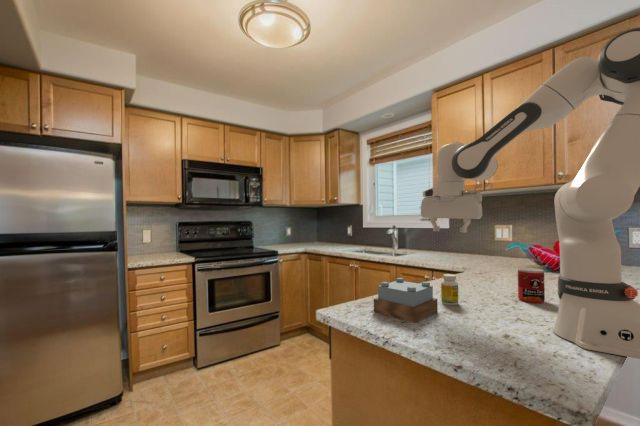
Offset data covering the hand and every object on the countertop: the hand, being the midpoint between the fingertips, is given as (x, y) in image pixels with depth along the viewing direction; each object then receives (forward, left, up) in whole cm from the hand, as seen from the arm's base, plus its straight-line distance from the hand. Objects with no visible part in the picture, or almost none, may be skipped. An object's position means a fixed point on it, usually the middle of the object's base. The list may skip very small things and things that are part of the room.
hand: (449, 231), depth 102 cm
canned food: (-19, -23, -25) cm, 39 cm away
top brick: (+6, +19, -20) cm, 28 cm away
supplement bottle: (0, 0, -25) cm, 25 cm away
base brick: (+6, +19, -24) cm, 31 cm away
